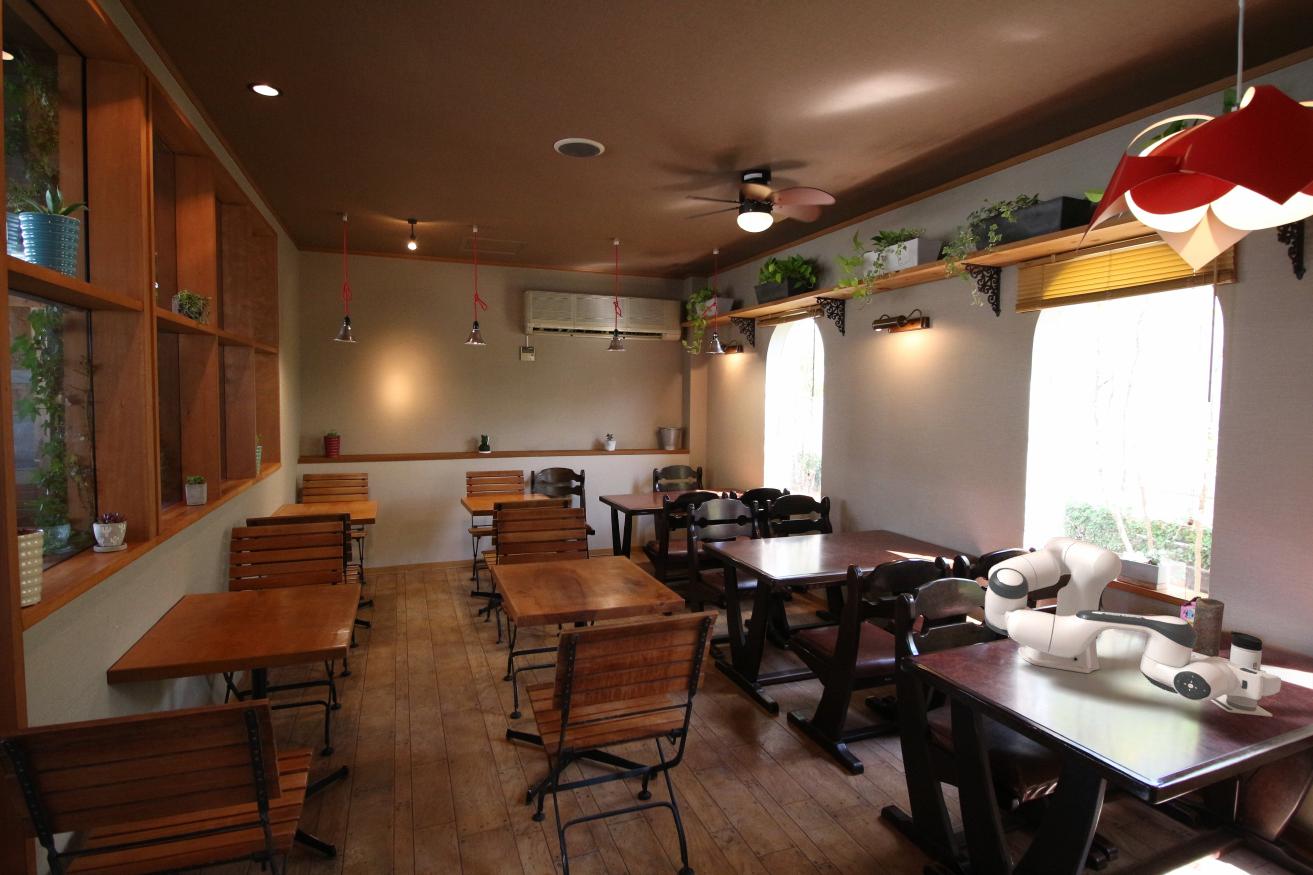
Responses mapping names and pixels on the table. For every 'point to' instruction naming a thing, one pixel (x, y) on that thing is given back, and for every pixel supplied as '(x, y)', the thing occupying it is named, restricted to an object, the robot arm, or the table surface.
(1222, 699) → the mat
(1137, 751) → the table surface
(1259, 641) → the travel mug
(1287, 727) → the table surface
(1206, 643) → the candle
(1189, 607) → the gum box
